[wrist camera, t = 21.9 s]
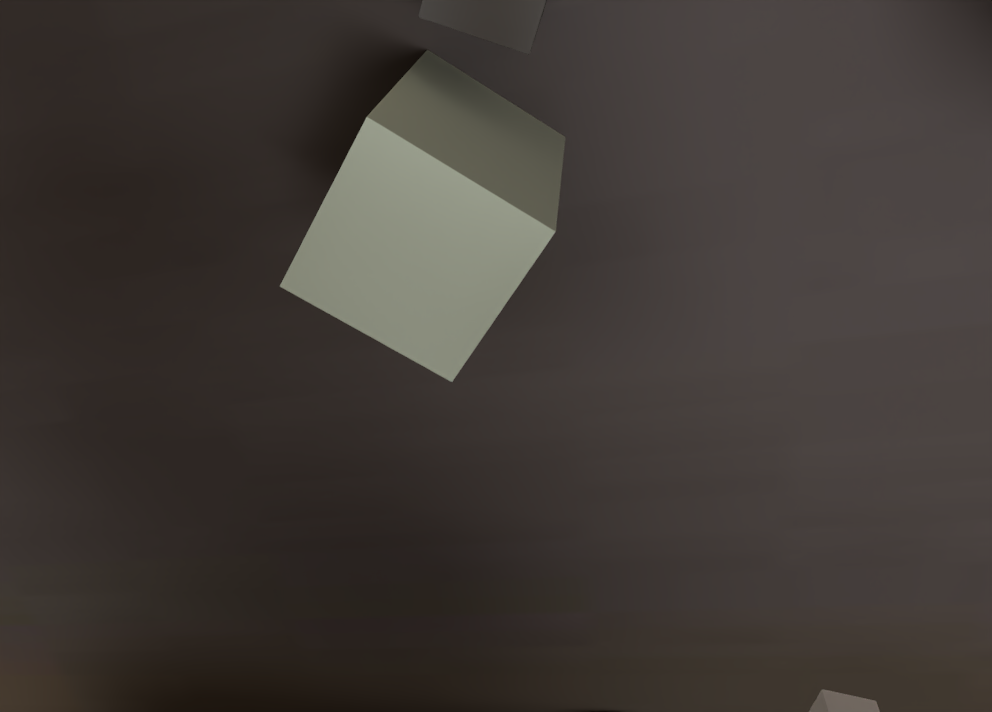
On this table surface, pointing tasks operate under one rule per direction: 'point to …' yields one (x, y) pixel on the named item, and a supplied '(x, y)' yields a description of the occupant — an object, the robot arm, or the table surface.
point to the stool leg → (489, 19)
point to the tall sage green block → (432, 217)
